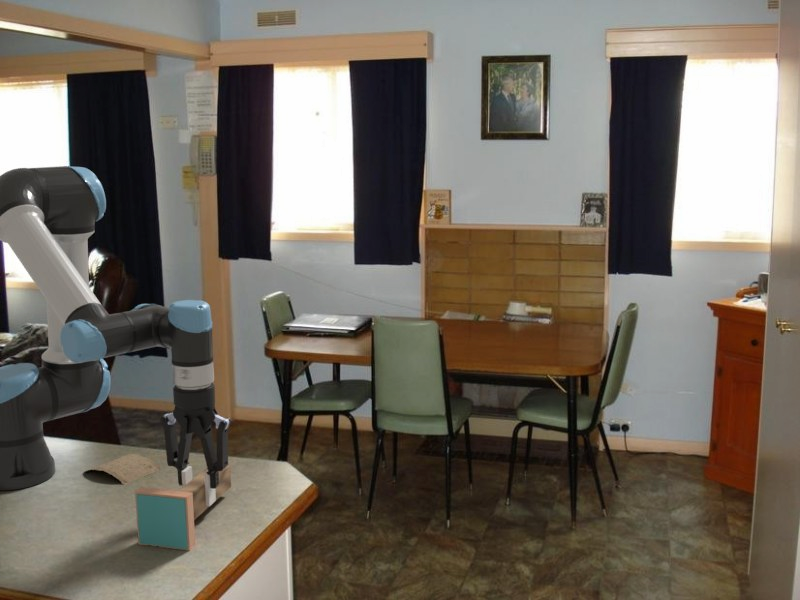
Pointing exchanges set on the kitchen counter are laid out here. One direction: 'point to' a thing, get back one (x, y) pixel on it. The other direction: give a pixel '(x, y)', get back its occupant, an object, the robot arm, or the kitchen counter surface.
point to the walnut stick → (199, 489)
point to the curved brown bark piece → (129, 467)
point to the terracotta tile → (165, 518)
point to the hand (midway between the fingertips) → (199, 501)
